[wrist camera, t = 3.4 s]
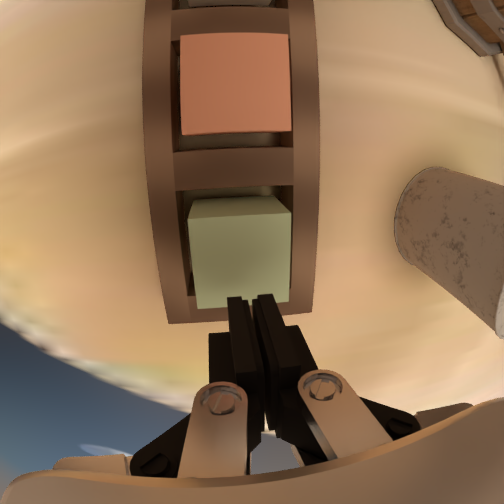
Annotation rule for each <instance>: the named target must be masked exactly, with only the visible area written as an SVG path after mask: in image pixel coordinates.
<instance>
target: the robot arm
mask: <svg viewBox="0 0 504 504" xmlns="http://www.w3.org/2000/svg"><path fill="white" fill-rule="evenodd" d="M227 308H228V320H229V332H222V333H209V384H208V385H206V386H204V387H202V388H201V389H200V390H199V391H198V392H197V394H196V396H195V398H194V402H193V407H192V411H191V413H190V414H189V415H188V416H186V417H185V418H184V419H182V420H181V421H180V422H178V423H177V424H175V425H174V426H173V427H171V428H170V429H169V430H167V431H166V432H165V433H163V434H162V435H160V436H159V437H158V438H156V439H155V440H153V441H152V442H150V443H149V444H148V445H146V446H145V447H143V448H142V449H140V450H139V451H138V452H137V453H135V454H134V455H133V456H127V457H125V455H124V454H117V455H105V456H90V457H89V456H88V457H66V458H62V459H60V460H59V461H57V462H56V464H55V465H54V466H53V469H52V470H42V471H35V472H30V473H26V474H23V475H20V476H18V477H17V478H15V479H14V480H13V481H12V482H11V483H10V484H9V486H8V487H7V489H6V490H5V492H4V494H3V496H2V499H1V501H0V504H504V397H502V398H496V399H492V400H489V401H486V402H482V403H480V404H477V405H475V406H473V405H472V404H469V403H459V404H455V405H450V406H446V407H441V408H436V409H431V410H425V411H420V412H416V414H415V415H411V414H409V413H407V412H404V411H401V410H398V409H395V408H392V407H388V406H385V405H382V404H379V403H376V402H373V401H370V400H368V399H365V398H362V397H359V396H358V395H357V394H356V392H355V391H354V390H353V389H352V387H351V386H350V385H349V383H348V382H347V381H346V380H345V379H344V378H343V377H342V376H341V375H340V374H338V373H336V372H334V371H330V370H322V369H318V367H317V365H316V363H315V361H314V359H313V356H312V354H311V352H310V350H309V348H308V345H307V343H306V341H305V339H304V337H303V335H302V332H301V330H300V328H299V326H298V325H293V326H285V323H284V321H283V318H282V316H281V313H280V311H279V308H278V306H277V303H276V301H275V298H274V296H273V294H272V293H271V294H260V295H257V299H252V316H251V311H250V307H249V303H248V299H247V300H242V296H236V297H227ZM265 415H266V419H267V424H268V428H269V431H271V430H275V433H276V437H277V438H281V439H282V440H284V441H287V442H288V443H290V444H291V449H292V452H293V454H294V456H295V458H296V460H297V462H298V463H299V466H300V467H299V468H294V469H288V470H282V471H277V472H269V473H262V474H254V475H251V451H253V449H254V448H255V447H256V446H257V445H258V444H259V443H260V442H261V432H263V431H264V427H265Z"/></svg>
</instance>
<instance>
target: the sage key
mask: <svg viewBox="0 0 504 504" xmlns="http://www.w3.org/2000/svg"><path fill="white" fill-rule="evenodd" d="M188 230H189V240H190V250H191V259H192V268H193V276H194V284H195V292H196V300H197V307H198V309H206V308H221V307H227V297H236V296H242V300H247V299H248V303H249V305H252V299H257V295H260V294H271V293H272V294H273V296H274V298H275V301H276V303H280V302H289V282H290V249H291V212H290V211H289V210H288V209H287V208H286V207H285V206H284V205H283V204H282V203H281V202H280V201H279V200H278V199H277V198H276V197H275V196H252V197H233V198H216V199H201V200H194V201H193V204H192V207H191V210H190V213H189V216H188Z"/></svg>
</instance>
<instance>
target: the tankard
mask: <svg viewBox="0 0 504 504" xmlns="http://www.w3.org/2000/svg"><path fill="white" fill-rule="evenodd" d="M433 2H434V4H435V6H436V7H437V9H438V11H439V13H440V15H441V17H442V18H443V20H444V22H445V24H446V26H447V27H448V28H450V29H451V30H452V31H453V32H454V33H456V34H457V35H458V36H459V37H460V38H461V39H462V40H464V41H465V42H466V43H467V44H468V45H469V46H470V47H471V48H472V49H473V50H474V51H475V52H476V53H477V54H478V55H479V56H480V57H481V56H489V55H494V54H499V53H503V55H504V0H433Z"/></svg>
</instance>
